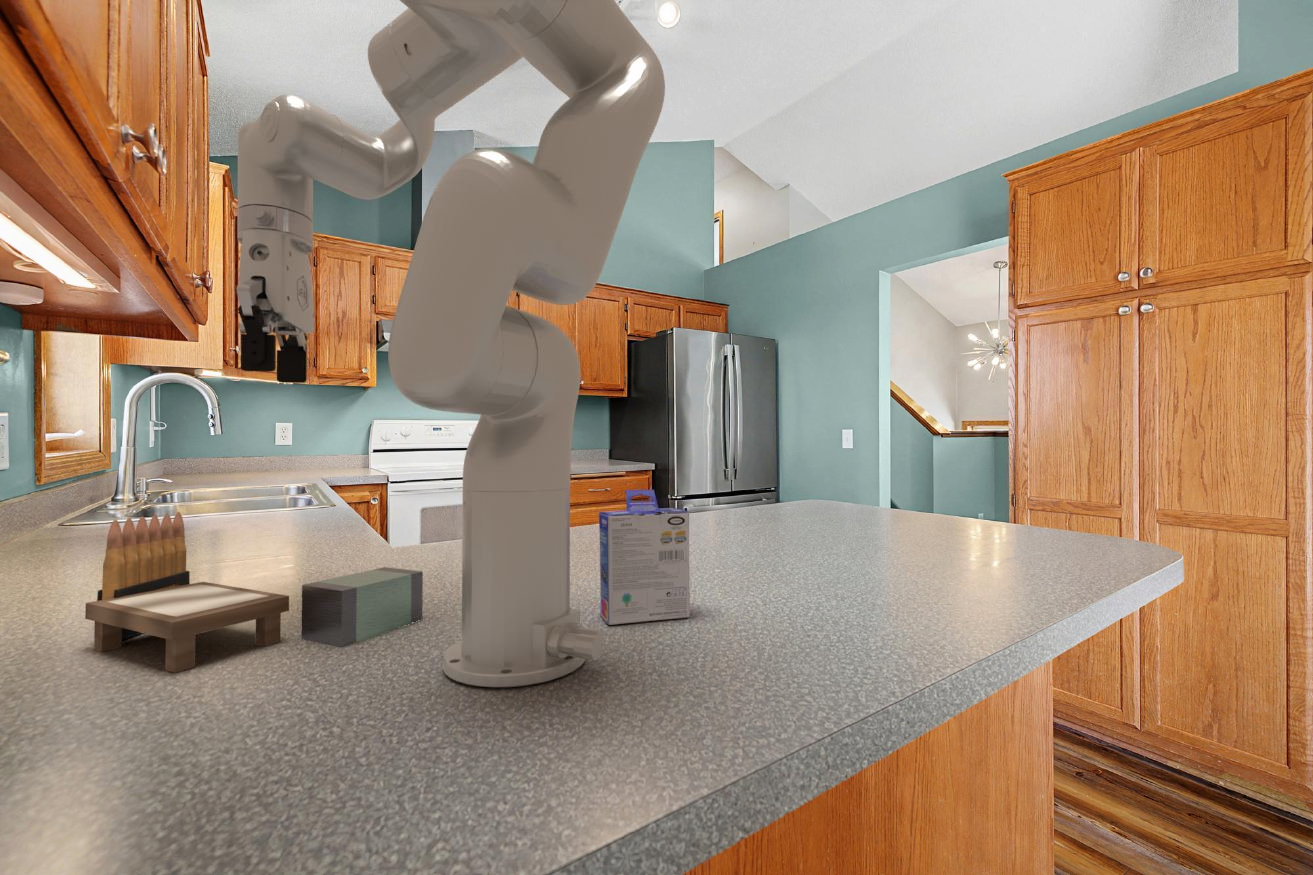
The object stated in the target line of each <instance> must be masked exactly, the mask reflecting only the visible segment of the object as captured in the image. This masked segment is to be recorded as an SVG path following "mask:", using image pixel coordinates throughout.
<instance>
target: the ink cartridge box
mask: <svg viewBox="0 0 1313 875" xmlns="http://www.w3.org/2000/svg"><path fill="white" fill-rule="evenodd" d="M624 492H625V503H626V509H625V510H609V511H605V510H604V511H599V512H598V521H599V522H598V523H599V569H600V570H599V571H600V573H599V574H600V576H599V577H600V579H599V580H600V583H599V584H600V590H599V592H600V594H599V595H600V598H599V599H600V606H599V607H600V608H599V609H600V612H599V614H600V616H601V618H602V620H604V622H605V623H606V625H608V626H609V625H610V626H613V625H614V626H615V625H622V624H632V623H634V624H635V623H644V622H650V621H664V620H675V619H685V618H689V617H690V616H691V610H690V609H691V604H690V603H691V597H690V596H691V592H690V591H691V590H690V589H691V588H690V512H689V511H688V510H684V509H680V508H677V507H666V508H659V505H658V501H657V497H656V494H655V489H626V490H625V491H624ZM638 496H645V497H649V498H650V500H648V501H647V500H642V501H641V500H640V501H636V500H635V501H633V500H632V498H634V497H638Z"/></svg>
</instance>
